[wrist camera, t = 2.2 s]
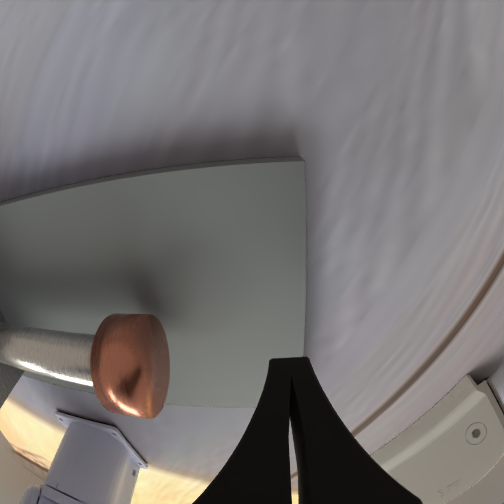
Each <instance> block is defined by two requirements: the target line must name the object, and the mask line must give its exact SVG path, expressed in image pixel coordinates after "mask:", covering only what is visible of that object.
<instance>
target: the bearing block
mask: <svg viewBox="0 0 504 504" xmlns="http://www.w3.org/2000/svg"><path fill="white" fill-rule="evenodd" d="M0 322H3V323H7V322H6V320H5V318H4V316H3V314H2V312H1V310H0ZM24 371H25V370H22V369H19V368H16V367H13V366H10V365H7V364H4V363H1V362H0V408H1V407H2V405H3V403H4V402H5V400H6V399H7V397H8V396H9V394H10V392H11V391H12V389H13V388H14V386H15V385H16V383H17V382H18V380H19V379H20V377H21V376H22V374H23V373H24Z"/></svg>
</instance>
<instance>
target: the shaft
mask: <svg viewBox="0 0 504 504" xmlns="http://www.w3.org/2000/svg"><path fill="white" fill-rule="evenodd" d="M0 362H1V363H4V364H7V365H10V366H13V367H16V368H19V369H22V370H26V371H29V372H33V373H36V374H40V375H43V376H47V377H51V378H55V379H59V380H64V381H68V382H72V383H77V384H82V385H87V386H92V387H94V390H95V393H96V395H97V397H98V399H99V401H100V402H101V404H102V405H103V406H104V407H105V408H106V409H107V410H109V411H110V412H113V413H117V414H123V415H129V416H135V417H141V418H149V419H151V418H154V417H156V416H157V415H158V414H159V413H160V411H161V410H162V408H163V406H164V403H165V400H166V397H167V393H168V387H169V379H170V357H169V348H168V342H167V338H166V334H165V331H164V328H163V326H162V324H161V322H160V321H159V320H158V318H157V317H156V316H154V315H151V314H122V313H115V314H111V315H109V316H107V317H106V318H105V319H104V320H103V321H102V323H101V324H100V326H99V327H98V329H97V332H96V334H95V335H93V334H82V333H73V332H64V331H56V330H48V329H41V328H34V327H27V326H21V325H15V324H9V323H3V322H0Z"/></svg>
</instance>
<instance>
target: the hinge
mask: <svg viewBox="0 0 504 504" xmlns="http://www.w3.org/2000/svg"><path fill="white" fill-rule="evenodd" d="M503 455H504V404H503V402H502V400H501V398H500V396H499V394H498V392H497V390H496V389H495V387H494V385H493V383H492V381H491V379H490V378H488V379H487V380H484V381H483V382H482V383H480V384H479V385H477V384H476V383H475V382H474V380H473V379H472V378H471V376H470V375H465V376H464V377H463V378H462V379H461V380H460V382H459V383H458V384H457V385H456V386H455V387H454V388H453V389H452V390H451V391H449V392H448V393H447V394H446V395H445V396H444V397H443V398H442V399H441V400H440V401H439V402H438V403H437V404H436V405H435V406H433V407H432V408H431V409H430V410H429V411H428V412H427V413H425V414H424V415H423V416H422V417H421V418H420V419H418V420H417V421H416V422H415V423H414V424H412V425H411V426H410V427H409V428H407V429H406V430H405V431H404V432H402V433H401V434H400V435H398V436H397V437H396V438H394V439H393V440H392V441H390V442H389V443H388V444H386V445H385V446H383V447H382V448H381V449H379V450H378V451H376V452H375V453H373V454H372V455H370V456H371V457H372V458H373V459H374V460H375V461H376V462H377V463H378V464H379V465H380V466H381V467H382V468H383V469H384V470H385V471H386V472H387V473H388V474H389V475H390V476H391V477H392V478H394V479H395V480H396V481H397V482H398V483H399V484H401V485H402V486H403V487H405V488H406V489H407V490H409V491H410V492H411V493H413V494H414V495H416V496H417V497H418V498H420V499H421V501H422V503H423V504H444V503H447V502H449V501H451V500H452V499H454V498H456V497H458V496H459V495H461V494H462V493H464V492H465V491H466V490H468V489H470V488H471V487H472V486H474V485H475V484H476V483H477V482H479V480H481V479H482V478H483V477H484V476H485V475H486V474H487V473H488V472H489V471H490V470H491V469H492V468H493V467H494V466H495V465H496V464H497V463H498V461H499V460H500V459H501V458H502V456H503Z"/></svg>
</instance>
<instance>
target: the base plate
mask: <svg viewBox="0 0 504 504" xmlns="http://www.w3.org/2000/svg"><path fill="white" fill-rule="evenodd" d="M305 306H306V175H305V161H304V160H303V159H302V158H301V157H300V156H296V157H272V158H255V159H241V160H228V161H217V162H207V163H198V164H189V165H180V166H173V167H165V168H158V169H151V170H144V171H138V172H132V173H126V174H120V175H114V176H109V177H104V178H98V179H93V180H88V181H83V182H79V183H74V184H70V185H65V186H61V187H57V188H52V189H48V190H44V191H40V192H36V193H33V194H29V195H25V196H21V197H18V198H14V199H11V200H7V201H4V202H1V203H0V310H1V312H2V314H3V316H4V318H5V320H6V322H7V323H9V324H15V325H21V326H27V327H34V328H41V329H48V330H56V331H64V332H73V333H82V334H93V335H95V334H96V332H97V329H98V327H99V326H100V324H101V323H102V321H103V320H104V319H105V318H106V317H107V316H109V315H111V314H115V313H122V314H151V315H154V316H156V317H157V318H158V320H159V321H160V322H161V324H162V326H163V328H164V331H165V334H166V338H167V342H168V348H169V357H170V379H169V387H168V393H167V397H166V400H165V403H164V404H171V405H183V406H199V407H225V408H256V407H257V405H258V402H259V399H260V396H261V394H262V391H263V388H264V384H265V381H266V377H267V373H268V367H269V360H271V359H272V358H290V357H303V354H304V333H305ZM22 375H24V376H27V377H30V378H34V379H37V380H40V381H44V382H48V383H51V384H55V385H59V386H63V387H67V388H71V389H76V390H80V391H85V392H89V393H94V394H96V393H95V390H94V387H92V386H87V385H82V384H77V383H72V382H68V381H64V380H59V379H55V378H51V377H47V376H43V375H40V374H36V373H33V372H29V371H26V370H25V371H24V373H23V374H22Z"/></svg>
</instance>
